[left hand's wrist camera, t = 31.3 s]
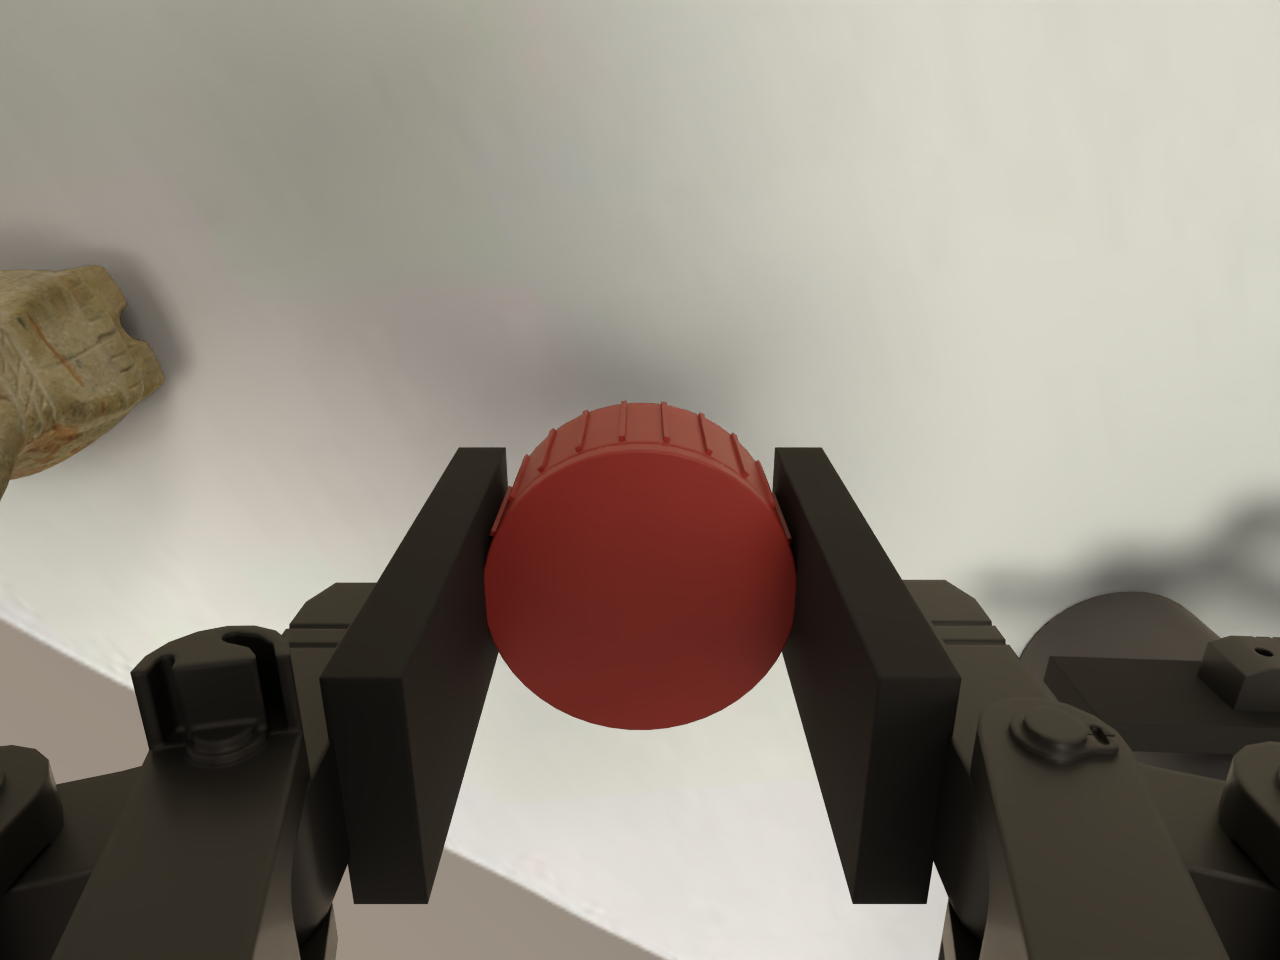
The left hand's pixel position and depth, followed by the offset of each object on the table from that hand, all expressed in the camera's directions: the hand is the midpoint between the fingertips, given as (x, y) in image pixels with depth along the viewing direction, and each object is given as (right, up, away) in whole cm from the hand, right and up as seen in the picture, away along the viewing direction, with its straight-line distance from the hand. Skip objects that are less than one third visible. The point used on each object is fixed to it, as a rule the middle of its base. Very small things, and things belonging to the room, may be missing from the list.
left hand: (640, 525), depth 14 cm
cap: (0, -1, -2) cm, 2 cm away
